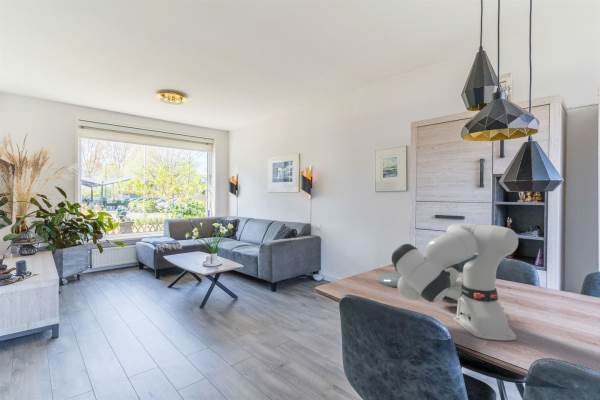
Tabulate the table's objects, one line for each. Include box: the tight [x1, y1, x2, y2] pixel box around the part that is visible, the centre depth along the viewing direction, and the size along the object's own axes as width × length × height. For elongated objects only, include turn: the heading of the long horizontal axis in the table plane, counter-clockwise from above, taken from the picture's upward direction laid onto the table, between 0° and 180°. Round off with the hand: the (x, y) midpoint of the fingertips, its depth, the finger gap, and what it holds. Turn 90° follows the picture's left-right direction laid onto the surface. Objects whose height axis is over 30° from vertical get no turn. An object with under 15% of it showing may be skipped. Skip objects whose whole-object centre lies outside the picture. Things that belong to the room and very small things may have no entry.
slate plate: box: [377, 272, 401, 289], centre depth 170 cm, size 22×22×2 cm
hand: (444, 277), depth 155 cm, fingers open, 8 cm apart
